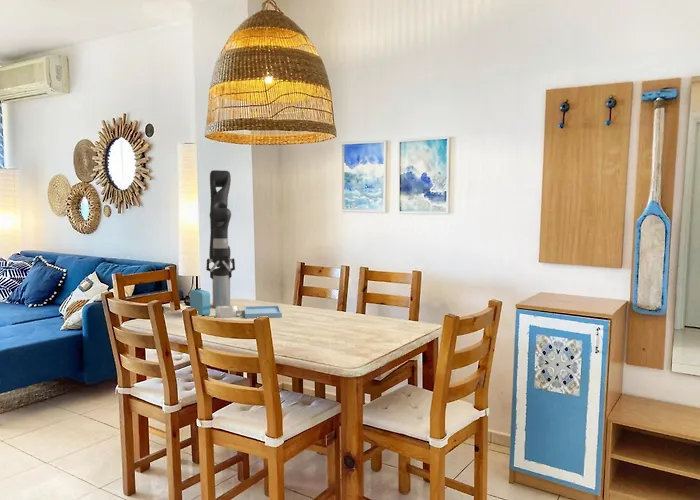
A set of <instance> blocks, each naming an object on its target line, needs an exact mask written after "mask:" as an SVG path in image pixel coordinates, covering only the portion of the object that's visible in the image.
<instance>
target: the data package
mask: <svg viewBox="0 0 700 500" xmlns="http://www.w3.org/2000/svg"><path fill="white" fill-rule="evenodd" d="M190 308H196V309H197V311H198V314H199V315H205V316H204V317H207V316H210V315H211V293H210V291H207V290H203V289H200V288H199V289H191V290H190V292H189V309H190Z"/></svg>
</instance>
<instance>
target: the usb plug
mask: <svg viewBox="0 0 700 500" xmlns="http://www.w3.org/2000/svg"><path fill="white" fill-rule="evenodd" d="M242 313H243V309H242V308H240V309H238V305H230V306H217V307H216V308H215V318H216V317H218V318H217V319H225V318H226V319H228V318H230V319H231V318H238V314H241V315H242Z"/></svg>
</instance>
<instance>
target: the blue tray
mask: <svg viewBox="0 0 700 500" xmlns="http://www.w3.org/2000/svg"><path fill="white" fill-rule="evenodd" d="M243 311H244V318H245V319H257V318H256V317H260V316H268V317H270V318H269V319H271V318H283V312H282V310H281V307H280V305H253V306H252V305H250V306H249V305H248V306H247V305H246V306H244V310H243Z"/></svg>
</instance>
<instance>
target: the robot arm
mask: <svg viewBox="0 0 700 500" xmlns="http://www.w3.org/2000/svg"><path fill="white" fill-rule="evenodd" d="M231 180H232V179H231V173H230V171H229V170H214V169H212V170H211V171H210V173H209V188H210V189H209V190H210V192H209V193H210V211H209V225H210V226H209V227H210V235H209V236H210V237H209V258H207V259H206V267H205V268H206V271H208V272H209V277H210V278H211V280H212V307H213V308H215V309H216V307H217V306H231V278H232V273H233V271H236V265H235V264H236V263H235V258H234V257H233V258H231V247H230V245H229V237H228V236H229V235H228V233H229V232H228V230H229V225H230V220H231V218H232V211H231V210H230V209H229V208H228V206H229V205H228V203H229V202H228V200H229V192H230V188H231V183H232V182H231ZM217 188H220V189H219V190H217ZM211 263H213V265H212V267H211V268H210V264H211ZM231 265H232V266H231ZM216 267H217V268H216Z"/></svg>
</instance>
